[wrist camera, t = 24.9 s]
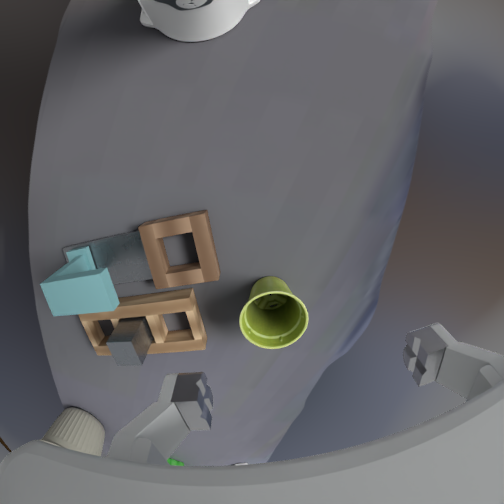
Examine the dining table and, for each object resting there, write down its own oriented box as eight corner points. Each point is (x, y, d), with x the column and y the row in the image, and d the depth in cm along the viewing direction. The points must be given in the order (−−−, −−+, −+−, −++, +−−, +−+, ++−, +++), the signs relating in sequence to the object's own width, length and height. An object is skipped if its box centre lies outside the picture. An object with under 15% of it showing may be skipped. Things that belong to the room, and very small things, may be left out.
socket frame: (207, 209, 41) (204, 213, 38) (220, 272, 45) (218, 280, 42) (63, 241, 42) (54, 246, 39) (81, 292, 45) (73, 299, 43)
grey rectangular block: (127, 310, 47) (105, 342, 37) (149, 307, 47) (131, 341, 37) (135, 331, 48) (117, 365, 39) (157, 329, 48) (142, 365, 39)
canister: (126, 437, 61) (108, 496, 41) (86, 437, 63) (67, 487, 43) (85, 395, 55) (54, 457, 35) (48, 399, 57) (19, 449, 37)
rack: (84, 301, 46) (76, 311, 43) (192, 287, 45) (189, 298, 42) (104, 344, 49) (97, 355, 46) (207, 337, 49) (205, 349, 45)
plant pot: (250, 323, 48) (252, 355, 40) (232, 276, 45) (229, 303, 37) (303, 308, 47) (314, 338, 39) (289, 258, 44) (299, 282, 36)
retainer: (133, 236, 41) (97, 265, 29) (145, 277, 43) (116, 317, 32) (69, 250, 41) (28, 279, 30) (82, 287, 44) (46, 322, 32)
